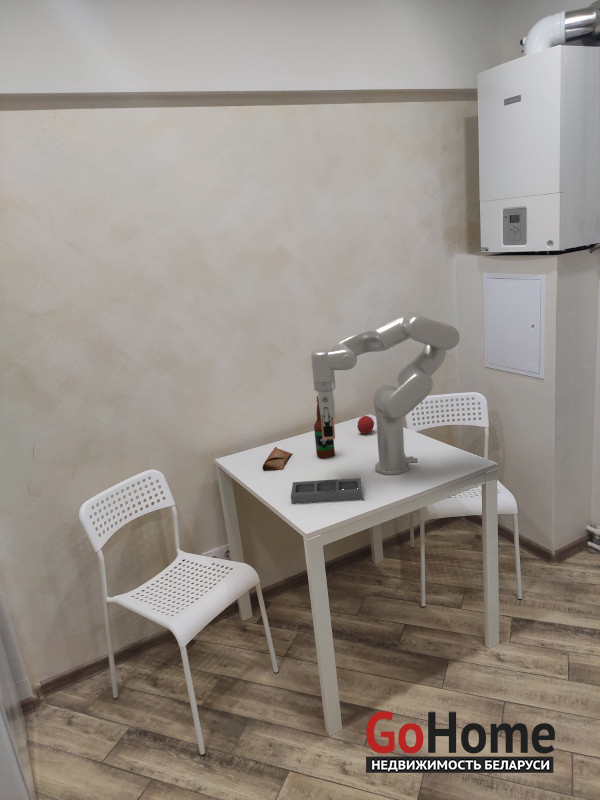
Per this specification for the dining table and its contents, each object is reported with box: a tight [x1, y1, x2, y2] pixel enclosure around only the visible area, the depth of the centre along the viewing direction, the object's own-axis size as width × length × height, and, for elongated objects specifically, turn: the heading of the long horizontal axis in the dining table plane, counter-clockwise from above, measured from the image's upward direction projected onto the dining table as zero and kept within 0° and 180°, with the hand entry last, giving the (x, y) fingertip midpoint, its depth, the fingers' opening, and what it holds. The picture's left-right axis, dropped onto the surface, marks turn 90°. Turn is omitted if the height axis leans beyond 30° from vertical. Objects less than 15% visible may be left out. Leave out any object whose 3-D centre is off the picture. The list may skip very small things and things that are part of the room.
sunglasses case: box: [262, 446, 294, 472], centre depth 243 cm, size 18×7×7 cm, turn 169°
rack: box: [290, 477, 364, 505], centre depth 210 cm, size 24×11×3 cm, turn 87°
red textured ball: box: [357, 415, 375, 435], centre depth 265 cm, size 8×8×8 cm
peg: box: [321, 416, 336, 440], centre depth 218 cm, size 4×4×8 cm
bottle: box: [313, 395, 336, 460], centre depth 242 cm, size 7×7×25 cm
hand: (328, 433), depth 219 cm, fingers closed on peg, 4 cm apart
